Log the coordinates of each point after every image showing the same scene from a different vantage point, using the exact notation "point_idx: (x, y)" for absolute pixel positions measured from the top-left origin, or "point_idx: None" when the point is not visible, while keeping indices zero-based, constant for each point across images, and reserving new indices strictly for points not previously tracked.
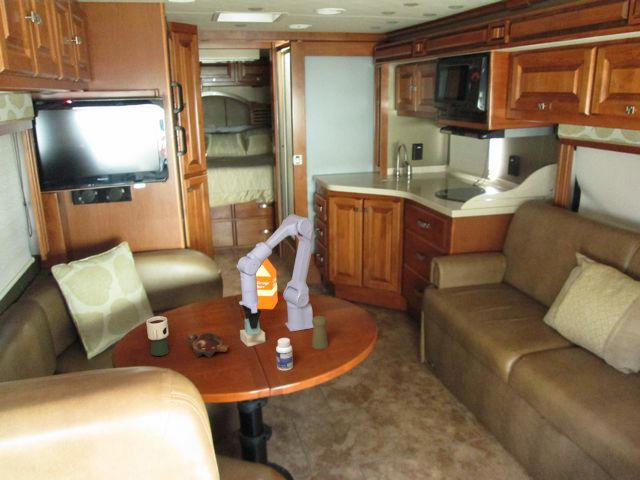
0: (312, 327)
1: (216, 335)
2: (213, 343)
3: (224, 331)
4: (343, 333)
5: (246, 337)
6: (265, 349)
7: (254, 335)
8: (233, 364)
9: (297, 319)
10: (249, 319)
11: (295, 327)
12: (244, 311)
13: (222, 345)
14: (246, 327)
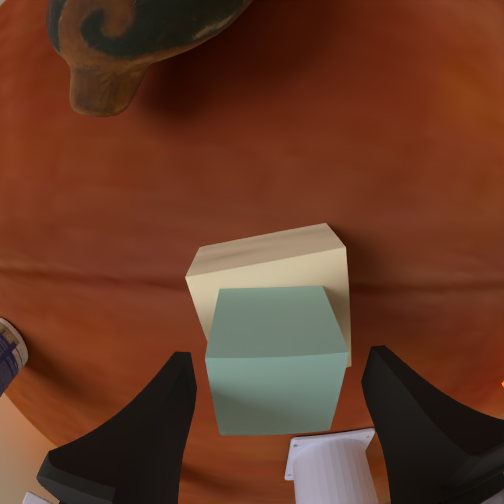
0: (285, 477)
1: (133, 2)
2: (47, 10)
3: (469, 156)
4: (215, 499)
5: (196, 271)
6: (139, 327)
7: (203, 329)
8: (25, 146)
9: (296, 489)
10: (110, 421)
11: (298, 456)
12: (424, 401)
13: (71, 73)
14: (251, 320)
